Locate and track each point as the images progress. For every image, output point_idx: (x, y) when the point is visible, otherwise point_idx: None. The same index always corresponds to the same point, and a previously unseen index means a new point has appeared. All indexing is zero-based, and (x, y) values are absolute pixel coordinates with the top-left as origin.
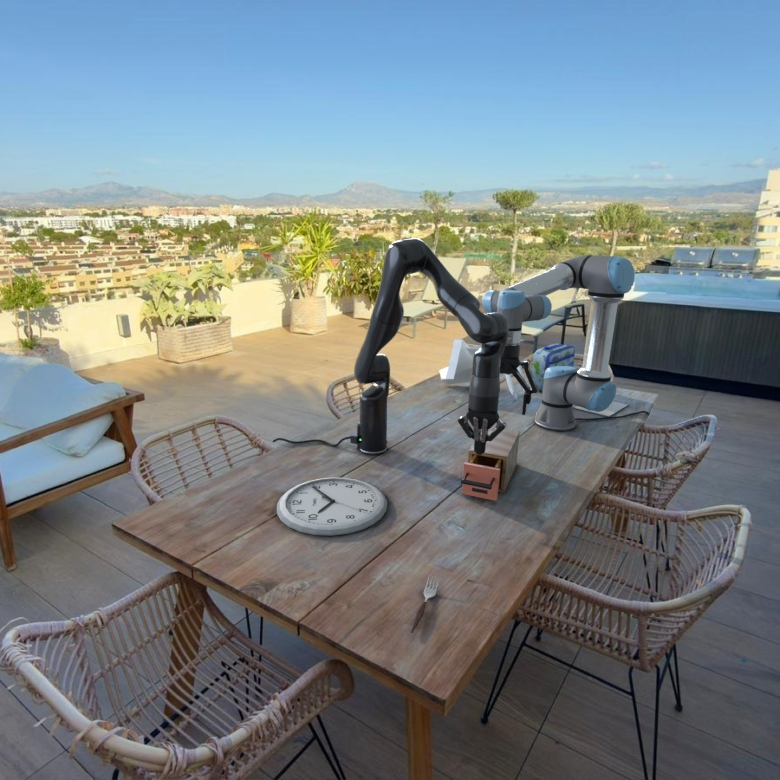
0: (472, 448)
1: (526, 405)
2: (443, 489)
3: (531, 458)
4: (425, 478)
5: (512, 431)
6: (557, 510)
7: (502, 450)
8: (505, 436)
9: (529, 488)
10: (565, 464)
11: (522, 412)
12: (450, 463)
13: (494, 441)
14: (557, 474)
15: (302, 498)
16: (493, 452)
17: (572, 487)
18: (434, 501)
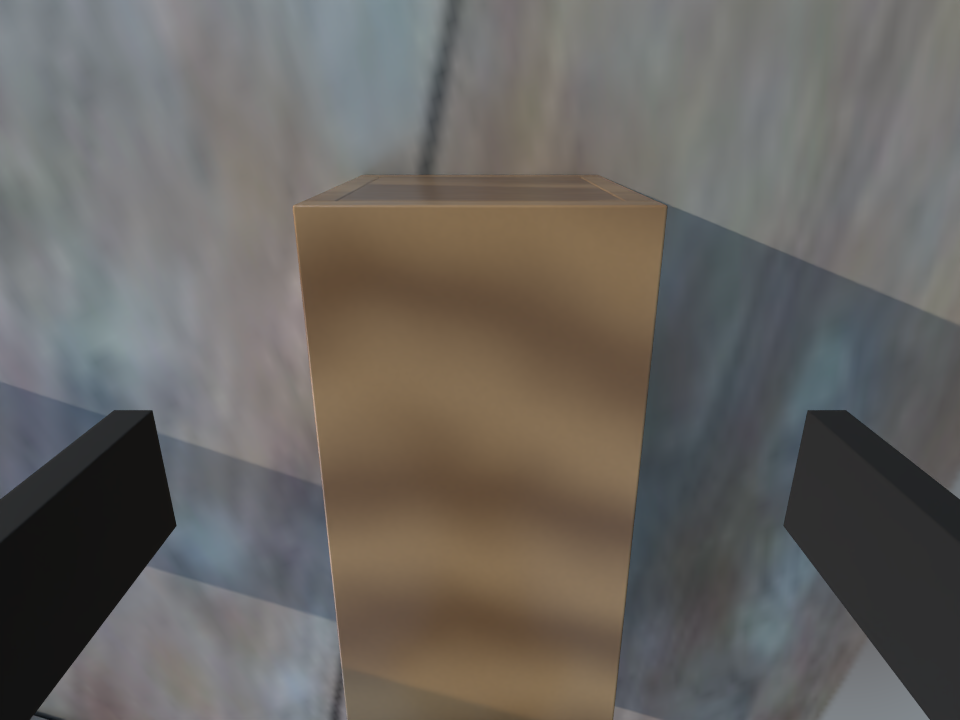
0: (360, 695)
1: (922, 476)
2: (301, 616)
3: (695, 11)
4: (175, 558)
5: (592, 239)
6: (821, 595)
7: (567, 651)
8: (545, 396)
9: (694, 456)
10: (948, 11)
11: (805, 548)
12: (204, 344)
13: (477, 531)
14: (865, 217)
15: None
16: (513, 697)
17: (932, 355)
18: (310, 708)
